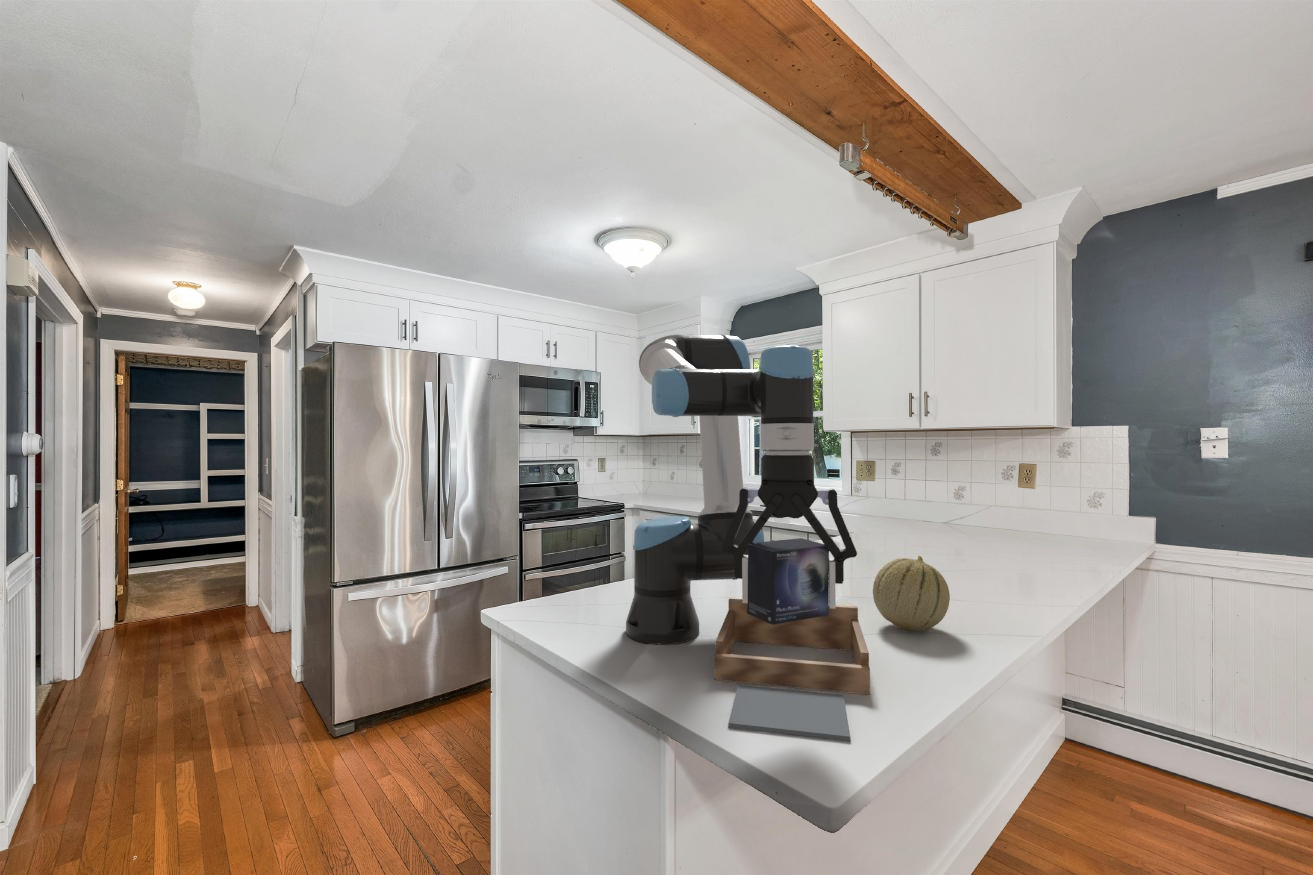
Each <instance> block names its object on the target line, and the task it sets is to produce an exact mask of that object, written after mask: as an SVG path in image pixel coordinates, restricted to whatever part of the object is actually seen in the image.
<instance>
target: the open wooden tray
mask: <svg viewBox="0 0 1313 875" xmlns="http://www.w3.org/2000/svg"><path fill="white" fill-rule="evenodd" d="M747 604H748V603H742V598H741V599H740V598H728V611H727V613H726V615H725V618H724V619H723V620H724V621H723V623H722V625H721V627H720V630H719V632H718V635H717V637H716V639H715V653H714V680H715V681H722V682H723V681H724V682H732V683H733V682H734V683H735V682H736V683H745V684H754V685H766V686H774V687H775V686H776V687H786V688H794V689H795V688H797V689H805V690H806V689H807V690H817V691H819V690H820V691H829V692H830V691H831V692H836V693H837V692H840V693H848V694H850V693H851V694H860V695H867V696H868V695H871V668H870V653H869V649H868V646H867V643H866V640H865V636H864V634H863V630H862V627H861V624H860V621H859V607H858V605H857V606H856V605H855V606H854V605H842V604H841V605H840V604H836V609H832V608H830V605H829V615H828V616H822V617H816V618H810V619H804V620H799V621H793V622H787V623H782V624H776V625H771V624H769V623H767V622H765V621H762V620H760V619H758V618H756V617H754V616H752V615H749V614H747ZM738 641H739V642H741V643H752V644H753V643H754V644H766V645H777V646H779V645H780V646H789V647H790V646H791V647H803V648H817V649H828V650H829V649H831V650H841V651H851V654H852V659H853V663H854V664H853V663H852V664H851V663H840V662H829V661H828V662H827V661H814V660H806V659H805V660H803V659H792V658H779V657H778V658H777V657H767V656H757V655H755V656H754V655H743V654H733V653H732V651H733V648H734V645H735V642H738Z"/></svg>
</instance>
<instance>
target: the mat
mask: <svg viewBox="0 0 1313 875" xmlns="http://www.w3.org/2000/svg"><path fill="white" fill-rule="evenodd" d="M845 701H846V700H845V698H844V694H843V693H835V692H833V693H831V692H821V691H811V690H804V689H802V690H799V689H792V688H783V687H782V688H781V687H779V688H778V687H769V686H762V685H761V686H760V685H748V684H737V687H736V692H735V695H734V699H733V703H732V708H731V711H730V715H729V719H728V723H727V725H728V728H733V729H740V730H748V731H757V732H758V731H760V732H767V733H768V732H769V733H778V734H783V735H793V736H803V737H809V738H819V739H826V740H827V739H829V740H838V741H844V742H851V732H850V731H851V730H850V726H849V721H848V720H849V719H848V714H847V708H846V703H845Z"/></svg>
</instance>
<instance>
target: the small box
mask: <svg viewBox="0 0 1313 875" xmlns="http://www.w3.org/2000/svg"><path fill="white" fill-rule="evenodd" d="M829 558H830V551H829V550H828V549H827V547H826V546H825V544H824V543H823V542H822V543H821V542H818V541H815V540H810V539H806V538H802V537H801V538H790V539H789V538H788V539H778V540H769V541H768V540H767V541H764V542H756V543H749V544H748V604H747V614H749V615H752V616H754V617H756V618H758V619H760V620H762V621H765V622H767V623H769V624H771V625H776V624H782V623H787V622H793V621H799V620H804V619H810V618H816V617H822V616H828V615H829Z"/></svg>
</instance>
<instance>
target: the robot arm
mask: <svg viewBox="0 0 1313 875" xmlns="http://www.w3.org/2000/svg"><path fill="white" fill-rule="evenodd" d="M749 355H750V354H749V351H748V348H747V345H746V343H745V342H744V341H743V340H742V339H741V338H740V337H738V336H734V335H726V334H719V335H716V334H715V335H713V334H711V335H709V334H706V335H705V334H670V335H665V336H662V337H659V338H657V339H655V340H653V341H651V342H649V344H647V345H646V346H645V347H644V349H643V350H642V351H641V354H640V355H639V359H638V367H639V372H640V373H641V376H642V377H643V379H644V380H645V381H646V382H647V383H648V384H650V385H651V404H652V410H653V411H654V413H655V414H656V415H658V416H665V417H666V416H668V417H673V418H680V417H699V418H698V419H699V420H698V421H699V432H700V433H699V434H700V436H699V437H700V453H701V469H702V470H701V472H702V489H703V490H702V491H703V505H704V507H703V508H702V510H700V512H699V513H698V515H697V523H692V521H691V519H690V518H689V517H688V516H684V515H683V516H682V515H680V516H679V515H678V516H665V517H659V518H653V519H650V520H646V521H644V522H640V524H638V525H637V526H636V528H635V529H634V540H633V544H632V545H633V546H632V547H633V550H634V552H633V553H634V558H633V560H634V564H633V565H634V566H633V567H634V569H633V570H634V575H633V579H634V580H633V584H634V586H633V588H634V592H633V596H632V597H633V599H632V600H631V601H632V602H631V604H630V607H629V609H628V610H629V611H628V613H627V617H626V620H625V634H626V636H627V637H629V638H630V639H631V640H634V641H637V642H639V643H645V644H655V645H671V644H672V645H673V644H679V643H684V642H688V641H691V640H693V639H695V638H696V637H698V636H699V634H700V620H699V616H698V614H697V610H696V607H695V605H694V602H693V599H692V595H691V582H692V581H715V580H716V581H719V580H733V581H736V580H740V579H741V580H742V581H741V583H742V585H741V588H742V590H741V591H742V595H741V596H742V598H741V599H742V603H748V544H749V543H756V542H765V533H764V531H763V528H764V526H765V524H766V523H767V522H768V521H769V519H770V518H771V516H773V517H775V518H776V519H784V518H791V519H799V518H802V517H804V519H805V520H806V522H808V524H809V525H810V527H811V528H812V529H813V531H814V532H815V534H816V535H817V536H818V538H819V539H820V541H822V544H825V546H826V547H827V549H828V550H829V554H831V555H832V557H833V558H830V557H829V605H830V608H832V609H836V605H837V603H836V600H837V599H836V585H837V584H838V585H840V584H841V585H842V584H843V583H844V581H845V580H844V579H845V578H844V577H845V574H844V573H845V572H844V571H845V570H844V568H845V567H844V562H845V561H846V560H848V559H851V558H852V559H853V558H855V557H857V555H858V552H857V549H856V546H855V544H854V542H853V539H852V537H851V535H850V533H849V530H848V528H847V525H846V523H845V520H844V518H843V515H842V513H841V511H840V508H839V506H838V492H837V491H836V489H834V488H832V487H831V488H829V489H817V488H816V486H815V457H813V455H811V453H810V452H812V451H813V450H814V449H815V442H814V441H815V438H814V437H815V436H814V434H815V433H814V431H815V430H814V426H815V425H814V376H815V370H814V358H813V352H812V351H811V349H810V348H808V347H806V346H802V345H801V346H799V345H780V346H779V345H778V346H771V347H767V348H765V349H763V350H762V352H761V353H760V361H759V365H758V369H751V361H750V356H749ZM739 417H752V418H760V449H761V451H762V452H764V455H762V457H761V458H760V464H761V465H760V466H761V468H760V476H761V477H760V479H761V480H760V481H761V482H760V487H759V488H748V487H744V480H743V468H742V467H743V465H742V452H741V442H740V441H741V439H740V425H739ZM756 497H758V498H759V500H760V502H762V503H763V505H764V506H765V508H764V510H763V511H762V513H761V514H760V515H759V517H758V518H757V519H756V520H754V517H753V514H754V513H753V512H752V511H751V510H750V509H749V508H748V507H749V504H752V503H753V502H754V499H755V498H756ZM817 499H821V500H822V503H823V504H824V505H828V509H829V512H830V514H831V517H832V518H833V522H834V524H835V526H836V528H837V531H838V533H839V536H840V537H841V541H842V543H843V545H844V548H841V549H840V547H839V546H838V544H836V542H835V541H834V539H833V538H832V536H831V535H830V534H829V532H828V531H827V529H826V528H825V526H824V525H823V524H822V523H821V521H820V520H819V519H818V518H817V516H816V515H815V513H814V512H813V510H812V509H811V506H812V505H813V504H814V503H815V501H817Z"/></svg>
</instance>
